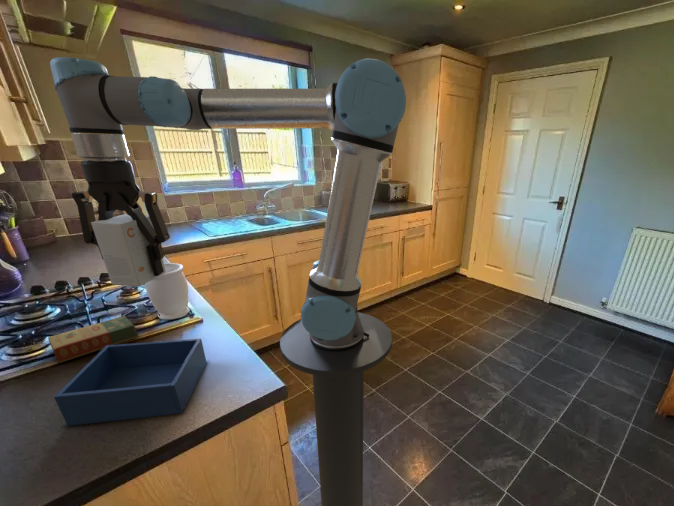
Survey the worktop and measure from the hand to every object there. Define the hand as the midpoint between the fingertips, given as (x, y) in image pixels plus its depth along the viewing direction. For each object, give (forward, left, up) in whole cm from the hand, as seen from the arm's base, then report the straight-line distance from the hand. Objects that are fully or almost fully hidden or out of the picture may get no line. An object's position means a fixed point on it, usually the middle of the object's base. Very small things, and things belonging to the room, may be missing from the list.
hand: (138, 274), depth 70 cm
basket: (0, +10, -23) cm, 25 cm away
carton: (+20, -11, -23) cm, 33 cm away
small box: (0, 0, -1) cm, 1 cm away
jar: (+7, -26, -23) cm, 36 cm away
